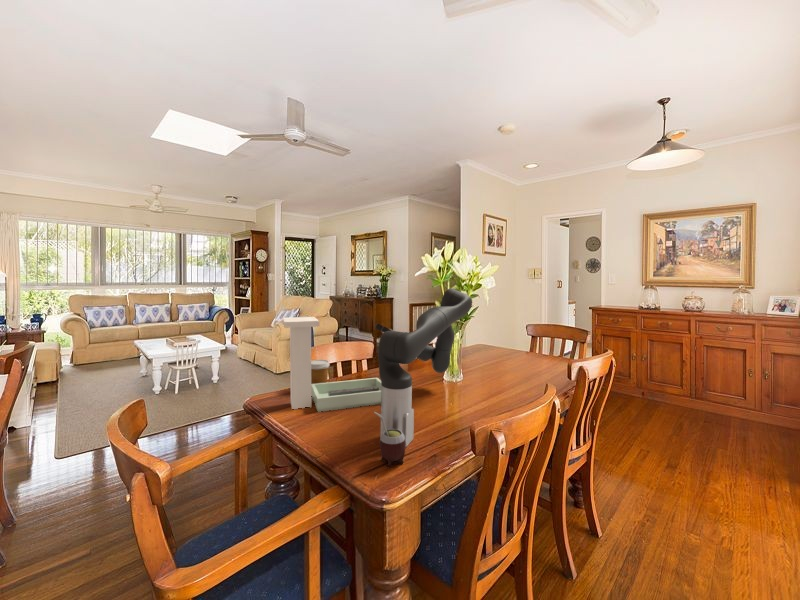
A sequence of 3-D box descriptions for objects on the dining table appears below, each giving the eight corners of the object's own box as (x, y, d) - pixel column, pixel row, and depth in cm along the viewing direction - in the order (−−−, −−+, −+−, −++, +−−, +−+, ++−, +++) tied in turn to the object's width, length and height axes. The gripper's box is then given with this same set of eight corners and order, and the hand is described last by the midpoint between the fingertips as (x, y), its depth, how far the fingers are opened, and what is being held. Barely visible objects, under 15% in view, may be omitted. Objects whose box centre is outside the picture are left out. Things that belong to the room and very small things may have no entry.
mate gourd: (408, 457, 97) (409, 404, 96) (399, 473, 89) (400, 415, 88) (383, 453, 99) (383, 401, 98) (372, 467, 91) (372, 411, 90)
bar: (376, 393, 146) (376, 386, 146) (378, 395, 143) (378, 388, 143) (328, 398, 138) (328, 391, 138) (329, 401, 136) (329, 393, 135)
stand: (314, 397, 142) (314, 316, 140) (319, 409, 130) (319, 320, 128) (283, 401, 138) (282, 317, 135) (285, 413, 126) (284, 322, 123)
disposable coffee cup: (334, 389, 153) (334, 362, 152) (315, 394, 146) (315, 365, 145) (321, 384, 160) (321, 358, 159) (303, 389, 153) (302, 361, 152)
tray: (377, 388, 154) (377, 377, 154) (391, 402, 138) (391, 390, 137) (311, 396, 144) (311, 384, 144) (317, 412, 127) (317, 398, 127)
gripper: (407, 334, 156) (378, 316, 150) (421, 339, 143) (389, 321, 137) (399, 349, 155) (369, 332, 149) (412, 356, 142) (380, 337, 136)
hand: (379, 326), depth 143 cm, fingers open, 8 cm apart
